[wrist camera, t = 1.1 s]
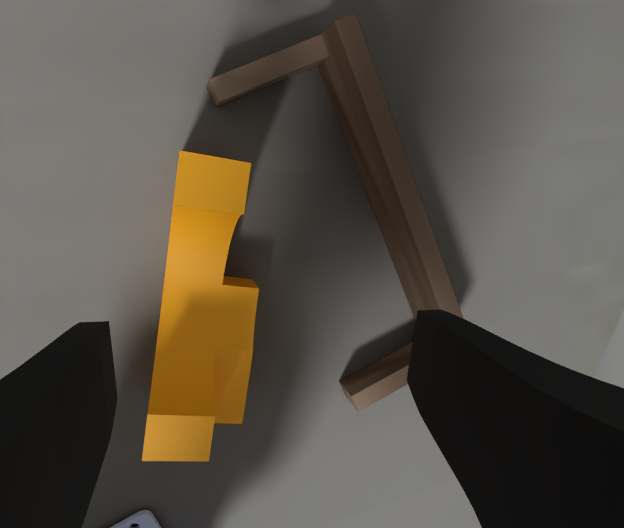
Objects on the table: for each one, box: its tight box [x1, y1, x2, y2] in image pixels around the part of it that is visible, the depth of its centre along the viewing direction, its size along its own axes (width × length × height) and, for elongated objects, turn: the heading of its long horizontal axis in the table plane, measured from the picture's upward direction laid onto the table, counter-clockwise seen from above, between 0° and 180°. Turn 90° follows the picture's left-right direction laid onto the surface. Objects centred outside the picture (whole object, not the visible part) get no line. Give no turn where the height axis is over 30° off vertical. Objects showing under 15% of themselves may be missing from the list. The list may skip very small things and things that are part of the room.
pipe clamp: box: [142, 151, 259, 461], centre depth 22 cm, size 12×4×6 cm, turn 171°
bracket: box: [207, 13, 463, 411], centre depth 24 cm, size 6×18×4 cm, turn 24°
